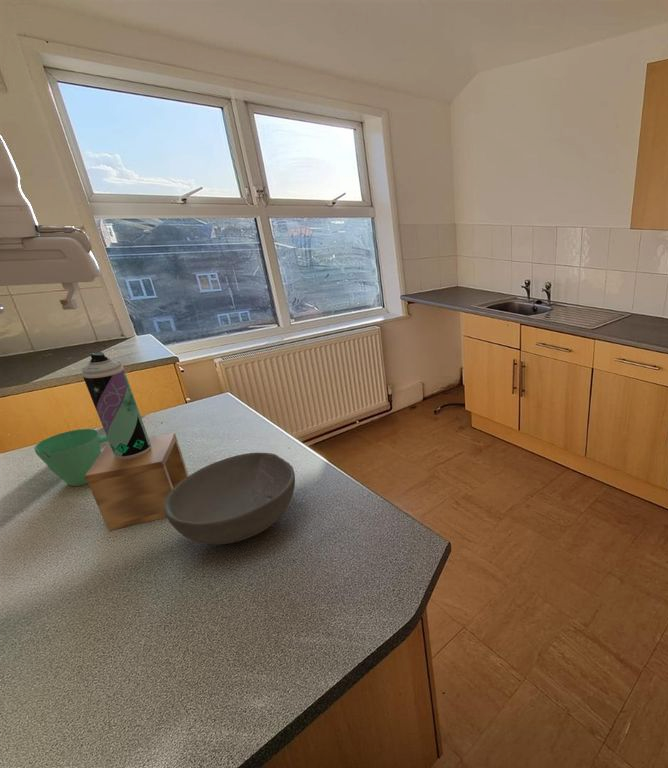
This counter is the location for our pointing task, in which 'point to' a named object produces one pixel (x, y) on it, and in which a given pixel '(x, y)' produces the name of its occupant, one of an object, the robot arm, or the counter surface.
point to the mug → (71, 454)
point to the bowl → (231, 498)
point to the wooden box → (136, 482)
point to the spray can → (116, 407)
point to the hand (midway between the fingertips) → (34, 311)
